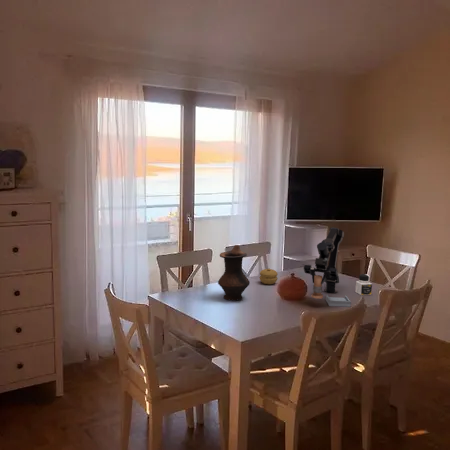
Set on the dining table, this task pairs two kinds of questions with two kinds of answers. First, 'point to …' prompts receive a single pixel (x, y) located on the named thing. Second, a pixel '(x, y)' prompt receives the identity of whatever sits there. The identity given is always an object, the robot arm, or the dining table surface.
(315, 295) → the wooden spool
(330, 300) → the notched board
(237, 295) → the dark brown vase
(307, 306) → the dining table surface
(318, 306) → the dining table surface
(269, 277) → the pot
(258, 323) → the dining table surface
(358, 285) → the medicine bottle
